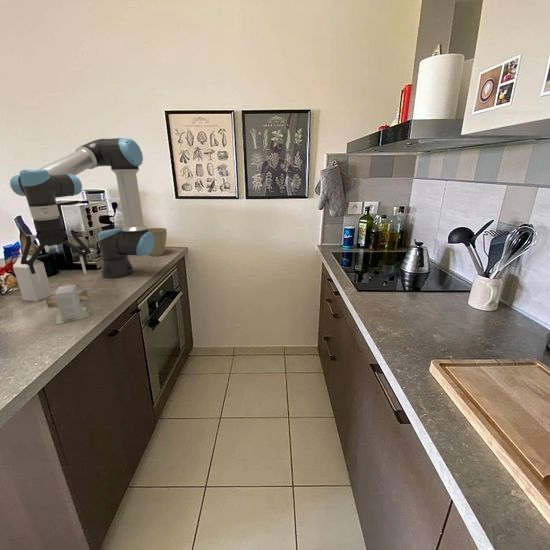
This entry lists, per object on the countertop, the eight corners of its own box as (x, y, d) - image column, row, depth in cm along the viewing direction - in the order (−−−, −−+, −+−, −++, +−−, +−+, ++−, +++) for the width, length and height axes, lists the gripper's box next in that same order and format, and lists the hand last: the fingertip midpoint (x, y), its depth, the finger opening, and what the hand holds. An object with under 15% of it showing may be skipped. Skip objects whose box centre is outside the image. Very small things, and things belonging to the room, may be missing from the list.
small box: (65, 312, 115) (58, 286, 112) (82, 309, 117) (75, 284, 114) (61, 321, 108) (54, 294, 105) (79, 317, 111) (72, 291, 107)
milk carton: (37, 301, 125) (24, 258, 119) (23, 300, 126) (9, 257, 120) (52, 295, 132) (40, 253, 125) (39, 294, 133) (26, 252, 127)
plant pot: (161, 258, 184) (157, 232, 179) (139, 256, 188) (135, 231, 182) (174, 252, 198) (171, 228, 193) (154, 250, 201) (150, 227, 196)
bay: (88, 298, 128) (86, 289, 127) (95, 315, 113) (93, 305, 112) (48, 307, 120) (45, 297, 119) (50, 326, 105) (47, 316, 104)
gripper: (-4, 224, 91) (18, 289, 98) (90, 215, 105) (103, 272, 112) (-2, 221, 96) (19, 282, 104) (87, 212, 110) (100, 267, 118)
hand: (63, 277), depth 108 cm, fingers open, 13 cm apart
